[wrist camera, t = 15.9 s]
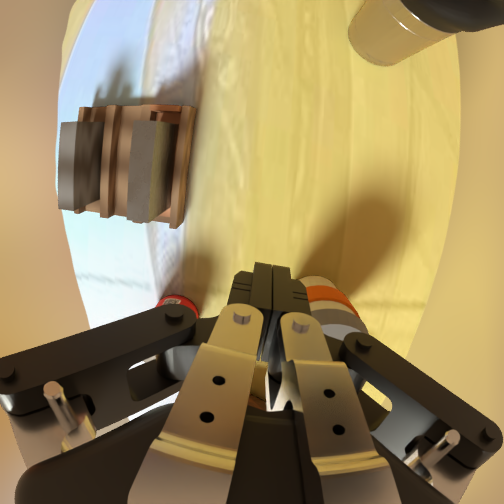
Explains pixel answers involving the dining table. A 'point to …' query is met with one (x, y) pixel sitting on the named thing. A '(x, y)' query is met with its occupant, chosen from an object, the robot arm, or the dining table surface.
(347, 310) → the reusable coffee cup
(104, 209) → the rack
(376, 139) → the dining table surface
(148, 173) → the panel
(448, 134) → the dining table surface
